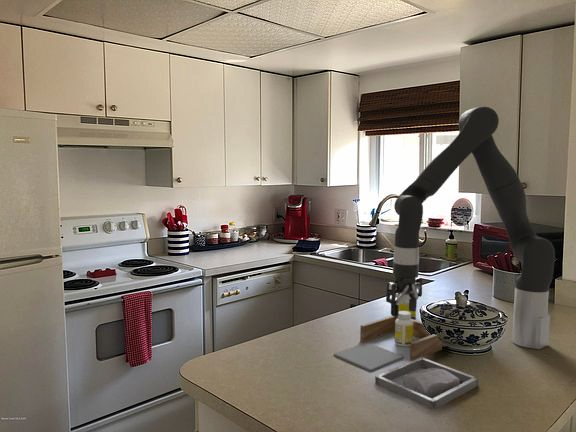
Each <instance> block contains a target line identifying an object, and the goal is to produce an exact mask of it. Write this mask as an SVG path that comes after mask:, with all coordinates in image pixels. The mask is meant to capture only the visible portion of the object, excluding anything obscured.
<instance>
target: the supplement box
mask: <svg viewBox="0 0 576 432" xmlns="http://www.w3.org/2000/svg"><path fill="white" fill-rule="evenodd" d="M409 299H410V297H409V295H408V294H407V295H404V297H403V298H402V299H401V300H400V302H399V304H398V305H399V311H408V312H411V318H410V319H413V320H416V318H417V317H416V316H417V310H416V311H415V312H413V311H410V310H409Z"/></svg>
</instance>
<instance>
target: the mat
mask: <svg viewBox="0 0 576 432" xmlns="http://www.w3.org/2000/svg"><path fill="white" fill-rule="evenodd" d="M333 356H334V357H337V358H339V359H341V360H343V361H346V362H348V363H350V364H353V365H354V366H357V367H359V368H362V369H364V370H366V371H368V372H370V373H371V372H374V371H375V370H378V369H381V368H383V367H386V366H389V365H391V364H394V363H396V362H398V361H400V360H403V359H404V357H405V356H404V355H401V354H399V353H397V352H393V351H391V350H388V349H386V348H384V347H381V346H378V345H375V344H373V343H370V342H368V341H365V342H362V343H359V344H357V345H354V346H351V347H349V348H345V349H342V350H340V351H337V352H334V353H333Z"/></svg>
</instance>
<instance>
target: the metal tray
mask: <svg viewBox="0 0 576 432" xmlns="http://www.w3.org/2000/svg"><path fill="white" fill-rule="evenodd" d="M420 367H422V368H425V369H428V368H438V369H443V370H445V371H447V372H449V373H451V374H452V375H454V376H455V377H457V378H458V379H459V380H460V385H458V386H456V387H454V388H452V389H450V390H448V391H446V392H444V393H442V394H441V395H439V396H437V397H434V398H429V397H427V396H425V395H422V394H420V393H418V392H415V391H413V390H411V389H409V388H406V387H404V385H401V384H399V383H397V382H395V381H392V380H394V379H395V378H397V377H398V378H399V377H400V376H402V375H403V376H404V375H406V374H408V373H410V372H411V371H414V370H417V369H419V368H420ZM461 382H462V383H461ZM374 383H375V385H376V386H379V387H381V388H384V389H385V390H388V391H390V392H392V393H395V394H397V395H398V396H401V397H403V398H405V399H408V400H410V401H413V402H414V403H417V404H419V405H421V406H423V407H425V408H427V409H429V410H431V411H434V410H436V409H438V408H440V407H442V406H443V405H445V404H447V403H449V402H451V401H453V400H454V399H456V398H458V397H460V396H462V395H464V394H466V393H468V392H470V391H471V390H473V389H475V388H476V387H478V386H479V377H476V376H473V375H470V374H468V373H465V372H463V371H460V370H457V369H454V368H452V367H449V366H446V365H443V364H441V363H439V362H437V361H433V360H430V359H428V358H425V357H420V358H418V359H415V360H413V361H411V360H410V361H408V362H405V363H404V364H401V365H399V366H397V367H396V366H395V367H394V368H392V369H389V370H387V371H385V372H383V373H380V374H377V375H375V381H374Z"/></svg>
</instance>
